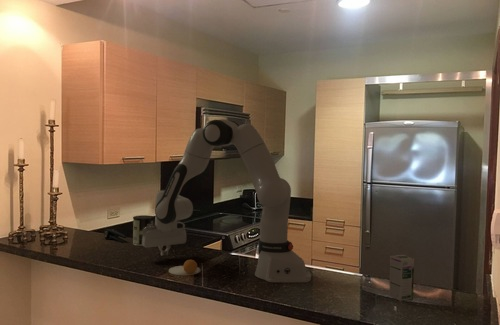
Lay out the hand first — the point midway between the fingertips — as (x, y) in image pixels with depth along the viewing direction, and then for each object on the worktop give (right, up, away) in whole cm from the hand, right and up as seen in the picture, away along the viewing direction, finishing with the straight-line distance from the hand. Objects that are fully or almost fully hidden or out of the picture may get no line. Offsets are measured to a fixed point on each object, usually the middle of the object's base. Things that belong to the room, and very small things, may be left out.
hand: (164, 255), depth 184 cm
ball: (+15, 0, -21) cm, 26 cm away
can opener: (-33, 0, +34) cm, 47 cm away
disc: (+12, -2, -17) cm, 21 cm away
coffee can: (-17, -1, +27) cm, 32 cm away
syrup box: (+92, -6, -42) cm, 101 cm away
